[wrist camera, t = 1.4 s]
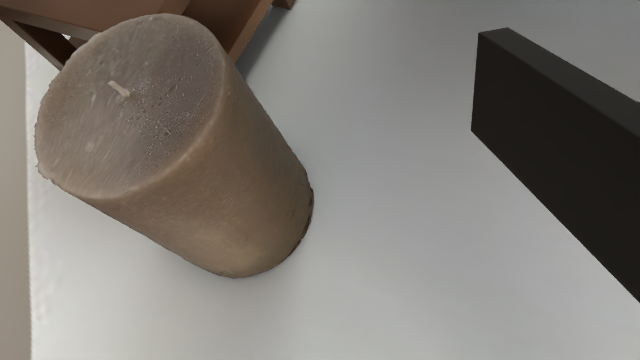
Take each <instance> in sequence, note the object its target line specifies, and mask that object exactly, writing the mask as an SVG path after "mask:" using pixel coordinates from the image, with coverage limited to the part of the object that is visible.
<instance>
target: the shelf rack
mask: <svg viewBox="0 0 640 360" xmlns="http://www.w3.org/2000/svg"><path fill="white" fill-rule="evenodd" d="M294 2H295V0H0V20H1V21H3V22H4V23H5V24H6V25H7V26H9V27H10V28H11V29H12V30H13V31H14V32H15V33H17V34H18V35H19V36H20V37H21V38H22V39H24V40H25V41H26V42H27V43H28V44H29V45H31V46H32V47H33V48H34V49H35V50H36V51H38V52H39V53H40V54H41V55H42V56H43V57H45V58H46V59H47V60H48V61H49V62H50V63H52V64H53V65H54V66H55V67H56V68H57V69H58V70H60V71H61V70H62V69H63V67H64V66H65V64H66V61H67V60H69V59H70V58H71V55H72V54H73V53H74V52H75V51H76V50H77V49H78V48H79V47H81V46H82V45H83V44H86V43H87V42H88V41H89V39H91V38H92V37H93V36H94V35H95V34H98V33H102V32H104V31H106V30H108V29H109V28H111V27H114V26H116V25H117V24H119V23H121V22H124V21H127V20H130V19H134V18H138V17H141V16H145V15H153V14H162V13H168V14H174V15H181V16H185V17H188V18H191V19H193V20H195V21H198V22H199V23H201V24H202V25H203V26H205V27H206V28H207V29H208V30H209V31H210V32H211V33H212V34H213V35H214V36H215V37H216V39H217V40H218V41H219V43H220V44H221V46H222V48H223V49H224V50H225V52H226V53H227V55H228V56H229V57H230V59H231V60H232V62H233V63H234V65H235V64H236V62H237V60H238V59H239V57H240V55H241V54H242V52H243V50H244V49H245V47H246V45H247V44H248V42H249V40H250V39H251V37H252V35H253V33H254V32H255V30H256V28H257V27H258V25H259V23H260V22H261V20H262V18H263V17H264V15H265V13H266V12H267V10H268V8H269V7H270V5H271V4H272V6H274V7H279V8H284V9H291V7H292V6H293V4H294ZM62 34H65V35H69V36H71V37H70V39H69V40H67V39H66V38H65V37H64V36H63V35H62Z"/></svg>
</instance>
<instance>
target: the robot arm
mask: <svg viewBox="0 0 640 360" xmlns="http://www.w3.org/2000/svg"><path fill="white" fill-rule="evenodd" d="M471 131H472V132H473V133H474V134H475V135H476V136H477V137H478V138H479V139H480V140H481V141H482V142H483V143H484V144H485V145H486V146H487V148H488V149H489V150H490V151H491V152H492V153H493V154H494V155H495V156H496V157H497V158H498V159H499V160H500V161H501V162H502V163H503V164H504V165H505V166H506V167H507V168H508V169H509V170H510V171H511V172H512V173H513V174H514V175H515V176H516V177H517V178H518V179H519V180H520V181H521V182H522V183H523V184H524V185H525V186H526V187H527V188H528V189H529V190H530V191H531V192H532V193H533V194H534V195H535V196H536V198H537V199H538V200H539V201H540V202H541V203H542V204H543V205H544V206H545V207H546V208H547V209H548V210H549V211H550V212H551V213H552V214H553V215H554V216H555V217H556V218H557V219H558V220H559V221H560V222H561V223H562V224H563V225H564V226H565V227H566V228H567V229H568V230H569V231H570V232H571V233H572V234H573V235H574V236H575V237H576V238H577V239H578V240H579V241H580V242H581V243H582V244H583V245H584V247H585V248H586V249H587V250H588V251H589V252H590V253H591V254H592V255H593V256H594V257H595V258H596V259H597V260H598V261H599V262H600V263H601V264H602V265H603V266H604V267H605V268H606V269H607V270H608V271H609V272H610V273H611V274H612V275H613V276H614V277H615V278H616V279H617V280H618V281H619V282H620V283H621V284H622V285H623V286H624V287H625V288H626V289H627V290H628V291H629V292H630V293H631V294H632V295H633V297H634V298H635V299H636V300H637V301H638V302H639V303H640V102H636V101H634V100H633V99H631V98H629V97H627V96H626V95H624V94H622V93H621V92H619V91H617V90H615V89H614V88H612V87H610V86H608V85H607V84H605V83H603V82H601V81H600V80H598V79H596V78H595V77H593V76H591V75H589V74H588V73H586V72H584V71H582V70H581V69H579V68H577V67H575V66H574V65H572V64H570V63H568V62H567V61H565V60H563V59H562V58H560V57H558V56H556V55H555V54H553V53H551V52H549V51H548V50H546V49H544V48H542V47H541V46H539V45H537V44H536V43H534V42H532V41H530V40H529V39H527V38H525V37H523V36H522V35H520V34H518V33H516V32H515V31H513V30H511V29H509V28H508V27H507V28H501V29H496V30H491V31H485V32H480V33H478V45H477V58H476V71H475V84H474V97H473V110H472V122H471Z"/></svg>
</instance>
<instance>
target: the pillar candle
mask: <svg viewBox="0 0 640 360" xmlns="http://www.w3.org/2000/svg"><path fill="white" fill-rule="evenodd" d="M34 137H35V151H36V155H37V159H38V165H37V166H36V167H38V172H39V173H40V174H41V175H42V176H43V177H44V178H46V179H51V180H52V182H53V184H55V185H58V186H59V187H60V188H61V189H62V190H64V191H66V192H68V193H69V194H71V195H73V196H75V197H77V198H78V199H80V200H82V201H84V202H85V203H87V204H89V205H91V206H93V207H95V208H96V209H98V210H100V211H101V212H103V213H104V214H106V215H108V216H110V217H112V218H113V219H116V220H118V221H119V222H121V223H123V224H125V225H127V226H128V227H130V228H132V229H133V230H135V231H137V232H139V233H141V234H143V235H145V236H146V237H148V238H149V239H151V240H153V241H154V242H156V243H158V244H160V245H161V246H163V247H164V248H166V249H168V250H170V251H172V252H174V253H176V254H177V255H179V256H181V257H183V259H185V260H186V261H189V262H191V263H192V264H194V265H196V266H199V267H200V268H202V269H205V270H207V271H209V272H211V273H214V274H217V275H221V276H226V277H231V278H239V277H247V276H252V275H255V274H259V273H261V272H264V271H267V270H269V269H271V268H273V267H274V266H276V265H278V264H279V263H281V262H282V261H284V260H285V259H286V257H287V256H289V255H290V254H291V253H292V252H293V251H294V249H295V248H296V247H297V246H298V245H299V243H300V241H301V239H302V238H303V236H304V235H305V233H306V231H307V228H308V226H309V223H310V220H311V215H312V210H313V204H314V198H313V196H314V194H313V189H311V187H310V184H309V182H308V179H307V173H306V170H305V169H304V167H303V166H302V164H301V163H300V161H299V160H298V159H297V157H296V155H295V154H294V153H293V152H292V149H291V148H290V147H289V145H288V144H287V142H286V141H285V140H284V138H283V136H282V135H281V133H280V132H279V130H278V129H277V127H276V126H275V125H274V123H273V121H272V120H271V118H270V117H269V115H268V114H267V113H266V111H265V110H264V109H263V107H262V105H261V104H260V102H259V101H258V100H257V98H256V97H255V95H254V94H253V92H252V90H251V89H250V88H249V86H248V85H247V83H246V82H245V80H244V79H243V77H242V75H241V74H240V72H239V71H238V69H237V68H236V66H235V65H234V63H233V62H232V60H231V59H230V57H229V56H228V55H227V53H226V52H225V50H224V49H223V48H222V46H221V44H220V43H219V41H218V40H217V39H216V37H215V36H214V35H213V34H212V33H211V32H210V31H209V30H208V29H207V28H206V27H205V26H203V25H202V24H201V23H199V22H198V21H195V20H193V19H191V18H188V17H185V16H181V15H174V14H168V13H162V14H153V15H145V16H141V17H138V18H134V19H130V20H127V21H124V22H121V23H119V24H117V25H116V26H114V27H111V28H109V29H108V30H106V31H104V32H102V33H98V34H95V35H94V36H93V37H92V38H91V39H89V41H88V42H87V43H86V44H83V45H82V46H81V47H79V48H78V49H77V50H76V51H75V52H74V53H73V54H72V55H71V58H70V59H69V60H67V61H66V64H65V66H64V67H63V69H62V70H61V72H60V73H59V74H58V75H57V76H56V77H55V79H54V80H52V82H51V83H50V84H49V90H48V92H47V93H46V94H45V96H44V97H43V99H42V101H41V106H40V109H39V112H38V118H37V123H36V124H35V136H34Z"/></svg>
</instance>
